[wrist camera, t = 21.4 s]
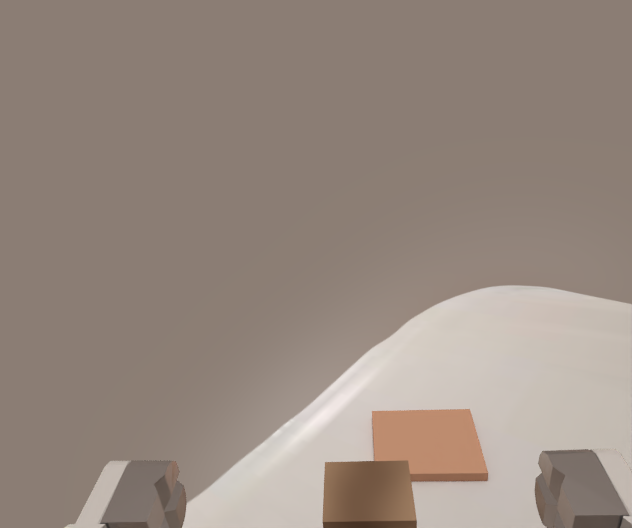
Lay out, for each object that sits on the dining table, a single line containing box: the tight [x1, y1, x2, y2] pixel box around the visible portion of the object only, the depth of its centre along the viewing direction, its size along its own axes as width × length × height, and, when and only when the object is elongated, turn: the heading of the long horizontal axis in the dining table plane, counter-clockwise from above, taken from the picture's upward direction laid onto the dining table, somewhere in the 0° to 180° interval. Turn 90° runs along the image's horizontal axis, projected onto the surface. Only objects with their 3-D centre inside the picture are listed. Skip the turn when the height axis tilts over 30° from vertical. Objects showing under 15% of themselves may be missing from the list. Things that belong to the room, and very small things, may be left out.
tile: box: [372, 409, 488, 481], centre depth 50 cm, size 10×2×8 cm
